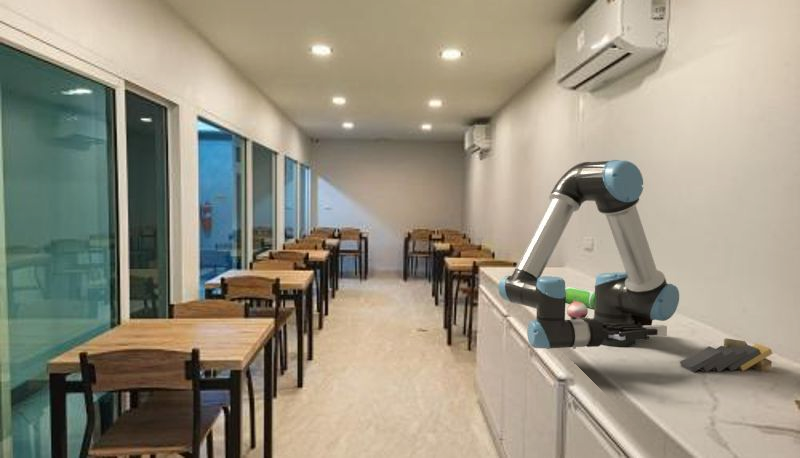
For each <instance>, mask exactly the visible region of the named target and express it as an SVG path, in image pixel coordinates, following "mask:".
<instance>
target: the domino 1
mask: <svg viewBox="0 0 800 458" xmlns="http://www.w3.org/2000/svg"><path fill="white" fill-rule="evenodd" d="M722 357H723V353H722V351H720V350H717V349H716V348H714V347H713V346H707V347H705V348H703V349H701V350H699V351H697V352H695V353H693V354H691V355H690V356H688V357H686V358H684V359H681V360H680V361H679V364H680V367H682V368H683V369H686V370H688V371H690V372H691V373H695V372H697V371H698V370H701V368H702V367H704V366H706V365H708V364H710V363H712V362H714V361H716V360H718V359H720V358H722Z"/></svg>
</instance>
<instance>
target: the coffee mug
mask: <svg viewBox="0 0 800 458" xmlns="http://www.w3.org/2000/svg"><path fill="white" fill-rule="evenodd" d="M631 321H632V323H633V324H635V325H637V323H641V327H642V326H645V325H653V320H652V319H648V318H644V317H640V316H636V315H632V314H631ZM650 337H651V336H647V339H646V340H650ZM642 341H644V339H643V340H642Z"/></svg>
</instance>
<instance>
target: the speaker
mask: <svg viewBox="0 0 800 458" xmlns="http://www.w3.org/2000/svg"><path fill="white" fill-rule="evenodd" d="M565 292H566V300H565V304H569V305H570V304H571V303H573V301H578V302H581V303H583V304H584V305H585V306H586V307H587V309H594V307H595V290H594V291H593V290H588V289H584V288H583V289H582V288H577V287H572V286H565Z"/></svg>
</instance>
